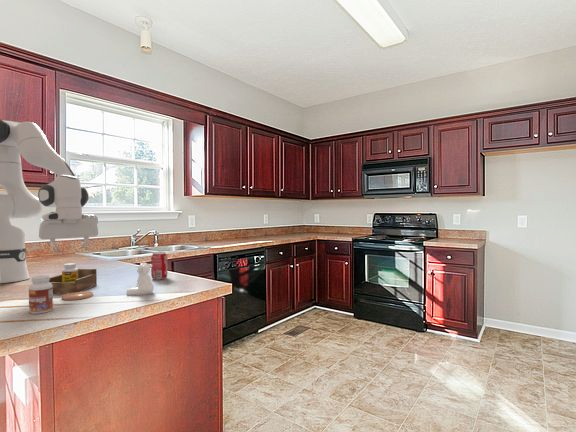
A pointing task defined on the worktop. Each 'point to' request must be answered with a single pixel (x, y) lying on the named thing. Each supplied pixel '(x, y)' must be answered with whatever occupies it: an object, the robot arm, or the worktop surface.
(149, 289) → the seated beast figurine
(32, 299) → the pill bottle
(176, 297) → the worktop surface
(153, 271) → the soda can
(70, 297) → the tan oval disc
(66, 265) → the supplement bottle
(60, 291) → the frame
